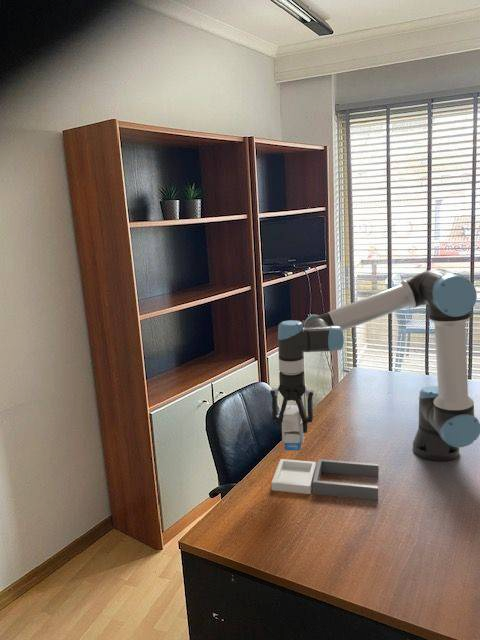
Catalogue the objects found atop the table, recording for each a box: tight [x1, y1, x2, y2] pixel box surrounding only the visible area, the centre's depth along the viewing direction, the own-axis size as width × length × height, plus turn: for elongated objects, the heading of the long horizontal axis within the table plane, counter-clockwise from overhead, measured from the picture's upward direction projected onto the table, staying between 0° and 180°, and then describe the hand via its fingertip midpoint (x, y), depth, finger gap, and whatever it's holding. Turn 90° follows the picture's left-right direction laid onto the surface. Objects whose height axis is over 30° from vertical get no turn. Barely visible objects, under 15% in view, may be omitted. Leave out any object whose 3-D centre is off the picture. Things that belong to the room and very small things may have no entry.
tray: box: [271, 458, 317, 495], centre depth 164 cm, size 12×15×3 cm
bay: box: [312, 458, 380, 501], centre depth 160 cm, size 19×14×4 cm
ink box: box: [283, 404, 302, 452], centre depth 161 cm, size 9×5×12 cm, turn 168°
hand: (293, 440), depth 162 cm, fingers closed on ink box, 5 cm apart
